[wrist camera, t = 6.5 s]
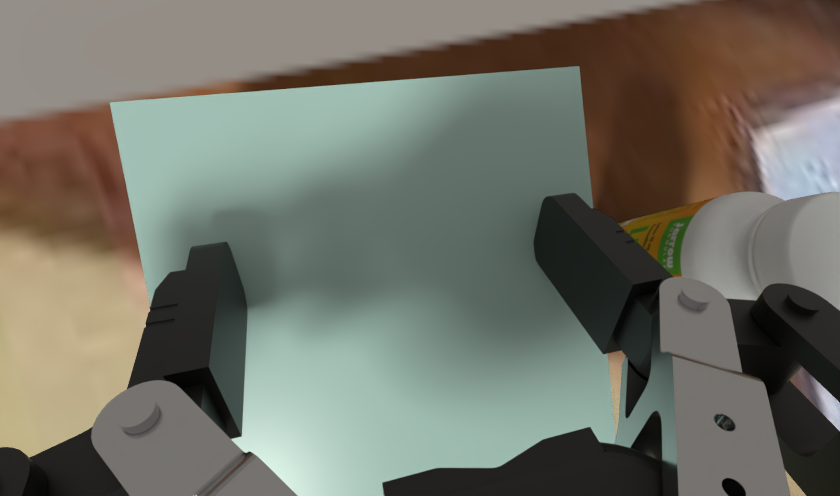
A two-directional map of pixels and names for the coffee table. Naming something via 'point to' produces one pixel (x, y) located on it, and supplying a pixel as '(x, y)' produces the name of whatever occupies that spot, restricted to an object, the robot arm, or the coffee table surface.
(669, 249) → the supplement bottle
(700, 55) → the coffee table surface
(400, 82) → the lid
